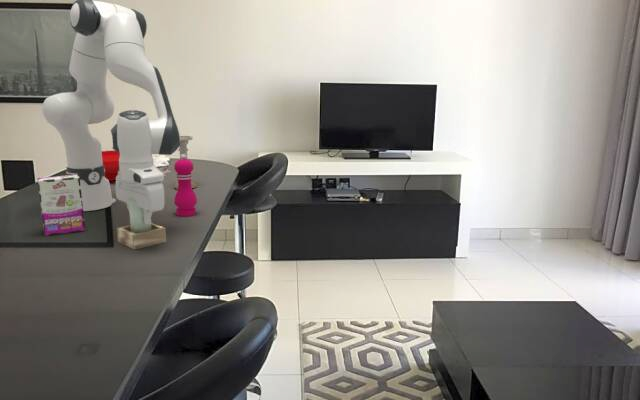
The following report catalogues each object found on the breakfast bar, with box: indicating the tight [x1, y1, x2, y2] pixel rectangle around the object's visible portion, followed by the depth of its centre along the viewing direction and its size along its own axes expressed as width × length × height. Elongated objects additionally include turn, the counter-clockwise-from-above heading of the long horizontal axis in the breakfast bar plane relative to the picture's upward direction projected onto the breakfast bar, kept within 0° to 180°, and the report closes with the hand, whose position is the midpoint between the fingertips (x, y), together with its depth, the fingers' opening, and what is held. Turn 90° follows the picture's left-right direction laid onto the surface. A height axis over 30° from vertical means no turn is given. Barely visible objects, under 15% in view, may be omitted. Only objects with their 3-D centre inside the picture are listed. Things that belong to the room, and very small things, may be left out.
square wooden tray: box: [116, 222, 167, 250], centre depth 153 cm, size 10×10×4 cm
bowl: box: [102, 150, 120, 182], centre depth 235 cm, size 30×30×10 cm
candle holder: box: [173, 135, 197, 190], centre depth 218 cm, size 9×9×20 cm
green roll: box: [128, 199, 152, 234], centre depth 152 cm, size 6×6×10 cm
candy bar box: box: [36, 175, 86, 237], centre depth 161 cm, size 11×5×16 cm, turn 117°
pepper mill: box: [174, 154, 198, 217], centre depth 180 cm, size 7×7×20 cm
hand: (140, 220), depth 152 cm, fingers closed on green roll, 5 cm apart
